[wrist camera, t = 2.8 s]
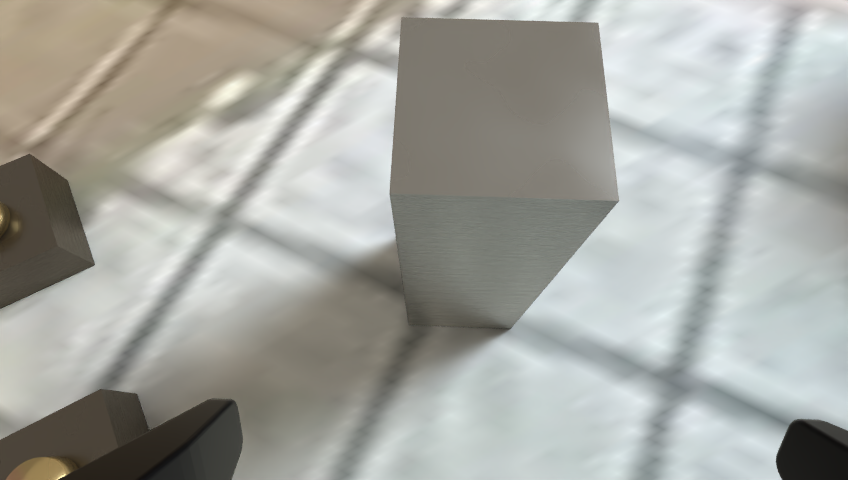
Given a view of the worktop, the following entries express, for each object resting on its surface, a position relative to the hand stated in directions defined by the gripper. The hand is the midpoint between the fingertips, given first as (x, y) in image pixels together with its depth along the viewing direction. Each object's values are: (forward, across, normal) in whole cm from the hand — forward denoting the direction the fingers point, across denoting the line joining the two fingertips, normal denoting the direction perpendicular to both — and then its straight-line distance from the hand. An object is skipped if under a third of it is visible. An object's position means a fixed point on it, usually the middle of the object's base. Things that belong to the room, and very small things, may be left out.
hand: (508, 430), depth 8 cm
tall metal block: (+14, 0, -5) cm, 15 cm away
